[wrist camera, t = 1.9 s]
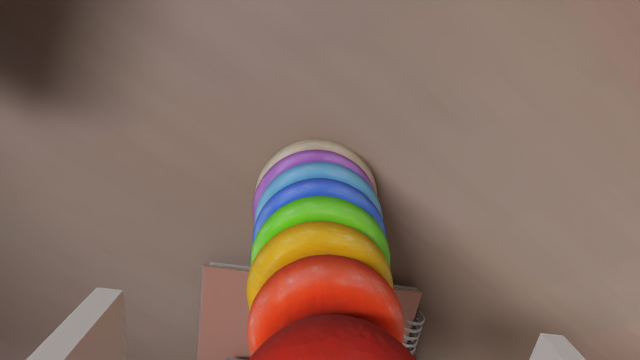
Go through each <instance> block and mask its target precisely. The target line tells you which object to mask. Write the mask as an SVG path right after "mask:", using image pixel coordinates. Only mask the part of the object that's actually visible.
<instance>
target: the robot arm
mask: <svg viewBox="0 0 640 360" xmlns="http://www.w3.org/2000/svg"><path fill="white" fill-rule="evenodd" d="M26 360H127V351H126V333H125V316H124V298H123V290H117V289H107V288H96V289H95V290H94V291H93V292H92V293H91V294H90V295H89V296H88V297H87V298H86V299H85V300H84V301H83V302H82V303H81V304H80V305H79V306H78V307H77V308H76V309H75V310H74V311H73V312H72V313H71V314H70V315H69V316H68V317H67V318H66V319H65V320H64V321H63V322H62V323H61V324H60V325H59V327H58V328H57V329H56V330H55V331H54V332H53V333H52V334H51V335H50V336H49V337H48V338H47V339H46V340H45V341H44V342H43V343H42V344H41V345H40V346H39V347H38V348H37V349H36V350H35V351H34V352H33V353H32V354H31V355H30V356H29V357H28V358H27V359H26ZM529 360H585V358H584V357H583V356H582V355H581V354H580V353H579V352H578V351H577V350H576V349H575V348H574V347H573V345H572V344H571V343H570V342H569V341H568V340H567V339H566V338H565V337H564V336H563V335H555V334H545V333H540V336H539V338H538V340H537V343H536V345H535V347H534V350H533V352H532V354H531V357H530V359H529Z"/></svg>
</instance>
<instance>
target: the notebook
mask: <svg viewBox="0 0 640 360" xmlns="http://www.w3.org/2000/svg"><path fill="white" fill-rule="evenodd" d="M249 271H250V267H248V266H240V265H232V264H224V263H215V262H213V263H212V262H210V264H209V265H204V264H203V268H202V284H201V301H200V317H199V333H198V349H197V360H226V358H231V359H243V360H248V359H249V358H250V357H251V354H250V350H249V345H248V338H247V324H248V316H249V313H250V310H249V306H248V302H247V293H246V291H247V278H248V274H249ZM393 290H394V292H395V294H396V295H397V298H398V300H399V302H400V305H401V308H402V311H403V317H404V323H405V328H404V339H403V345H404V346H405V347H407V348H408V349H409V350H410V352H411V354H412V355H413V353H414V352H415V348H416V345H417V343H418V338H419V336H420V331H421V330H422V326H423V325H422V324H423V323H424V322H425V316H424V315H423V313H422V312H421V311H420V310H419V311H418V313H419V314H420V315H421V316H422V318H423V321H420V319H419V318H418V317H417V318H416V320H417V321H418V322H414V318H415V315H416V312H417V309H418V306H419V302H420V299H421V296H422V291H417V289H416V287H414V288H413V287H409V286H401V285H393ZM412 325H414V326H413V327H415V329H416V330H412V329H411V328H412ZM417 325H420V329H419V328H418V327H417ZM410 332H411V334H412V335H413V336H414V337H409V335H410ZM417 332H418V336H416V334H415V333H417ZM408 340H409V341H410V342H411V343H412V344H407V341H408ZM413 340H416V342H415V344H414V341H413ZM411 347H414V349H413V350H412V349H411Z"/></svg>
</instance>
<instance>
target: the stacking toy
mask: <svg viewBox="0 0 640 360" xmlns="http://www.w3.org/2000/svg"><path fill="white" fill-rule="evenodd" d="M253 219H254V224H255V226H254V231H253V247H252V251H251V267H250V271H249V274H248V278H247V291H246V293H247V302H248V306H249V310H250V313H249V316H248V324H247V338H248V345H249V350H250V354H251V357H250V358H249V359H248V360H416V358H415V357H414V356H413V355H412V354H411V352H410V351H409V350H408V349H407V348H406V347H405V346H404V345H403V339H404V328H405V323H404V317H403V311H402V308H401V305H400V302H399V300H398V298H397V295H396V294H395V292H394V290H393V279H392V274H391V270H390V250H389V246H388V242H387V239H386V229H385V225H384V222H383V215H382V210H381V206H380V203H379V200H378V198H377V188H376V183H375V179H374V177H373V174H372V172H371V170H370V168H369V167H368V165H367V164H366V163H365V161H364V160H363V159H362V158H361V157H360V156H359V155H358V154H357V153H355V152H354V151H353V150H351V149H350V148H348V147H346V146H344V145H342V144H340V143H337V142H333V141H329V140H323V139H311V140H304V141H300V142H296V143H293V144H291V145H289V146H287V147H285V148H283V149H282V150H280V151H279V152H277V153H276V154H275V155H274V156H273V157H272V158H271V159H270V160H269V161H268V162H267V163H266V165H265V166H264V168H263V170H262V171H261V173H260V176H259V178H258V181H257V185H256V191H255V195H254V200H253Z"/></svg>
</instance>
